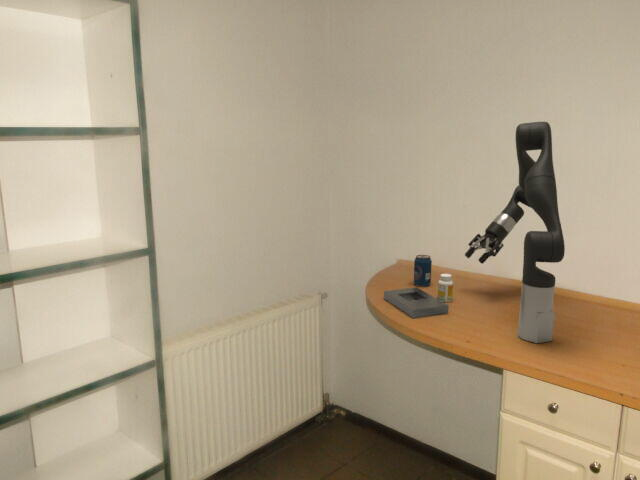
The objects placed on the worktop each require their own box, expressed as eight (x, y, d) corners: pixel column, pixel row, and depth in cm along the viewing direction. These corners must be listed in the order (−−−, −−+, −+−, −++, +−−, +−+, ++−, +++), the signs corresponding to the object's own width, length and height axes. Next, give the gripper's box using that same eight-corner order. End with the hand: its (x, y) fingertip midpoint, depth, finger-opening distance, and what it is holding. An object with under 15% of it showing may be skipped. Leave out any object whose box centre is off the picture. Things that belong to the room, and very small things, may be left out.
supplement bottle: (451, 297, 199) (452, 273, 197) (453, 302, 194) (454, 277, 192) (436, 297, 199) (437, 272, 197) (438, 302, 194) (439, 276, 192)
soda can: (410, 283, 217) (411, 255, 214) (423, 281, 220) (424, 253, 218) (420, 288, 211) (421, 259, 208) (434, 285, 214) (435, 257, 212)
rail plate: (448, 313, 182) (448, 305, 182) (412, 318, 178) (413, 309, 177) (416, 294, 202) (416, 287, 202) (383, 298, 198) (384, 291, 197)
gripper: (483, 218, 204) (456, 249, 202) (507, 224, 190) (479, 257, 189) (493, 230, 206) (467, 261, 205) (518, 237, 193) (490, 270, 192)
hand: (473, 259), depth 197 cm, fingers open, 8 cm apart
